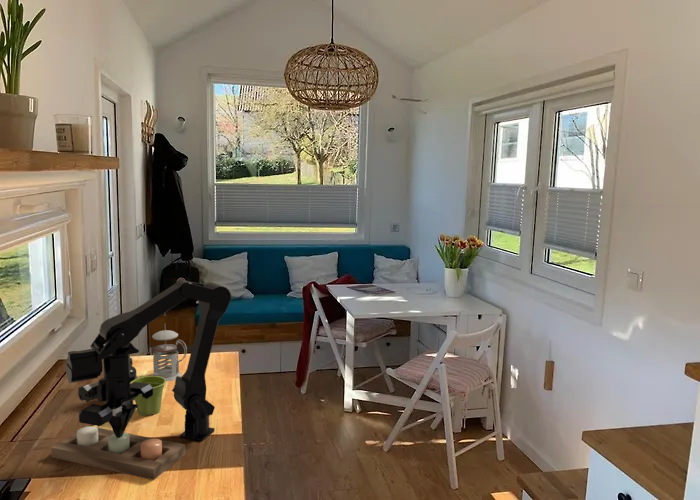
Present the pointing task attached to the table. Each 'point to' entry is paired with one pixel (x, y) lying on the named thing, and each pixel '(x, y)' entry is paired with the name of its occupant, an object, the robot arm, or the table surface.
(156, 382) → the plant pot
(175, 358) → the french press
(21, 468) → the table surface
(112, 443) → the button sage
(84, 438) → the button cream
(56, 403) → the table surface
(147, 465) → the wooden compartment tray
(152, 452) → the button rust
